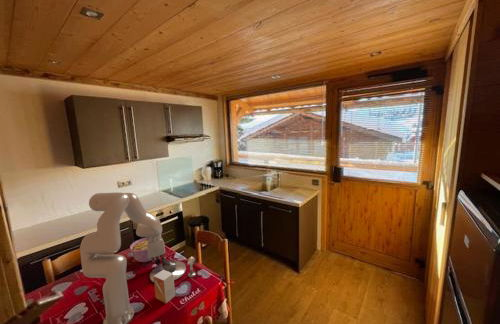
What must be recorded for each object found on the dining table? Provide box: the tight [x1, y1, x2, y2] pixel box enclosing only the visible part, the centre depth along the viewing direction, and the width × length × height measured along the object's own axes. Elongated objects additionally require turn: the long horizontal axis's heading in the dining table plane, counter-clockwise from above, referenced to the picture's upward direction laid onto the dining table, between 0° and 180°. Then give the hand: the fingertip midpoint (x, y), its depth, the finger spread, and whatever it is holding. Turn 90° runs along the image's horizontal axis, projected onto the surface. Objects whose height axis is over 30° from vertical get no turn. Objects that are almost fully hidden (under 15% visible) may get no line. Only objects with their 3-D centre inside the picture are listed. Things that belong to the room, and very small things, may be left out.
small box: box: [153, 270, 176, 304], centre depth 113 cm, size 8×6×13 cm
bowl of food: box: [129, 237, 158, 263], centre depth 151 cm, size 20×20×12 cm
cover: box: [164, 259, 177, 273], centre depth 135 cm, size 7×7×5 cm
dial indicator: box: [187, 256, 197, 278], centre depth 131 cm, size 4×4×12 cm
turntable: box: [149, 255, 187, 283], centre depth 134 cm, size 21×21×6 cm
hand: (157, 264), depth 139 cm, fingers closed
